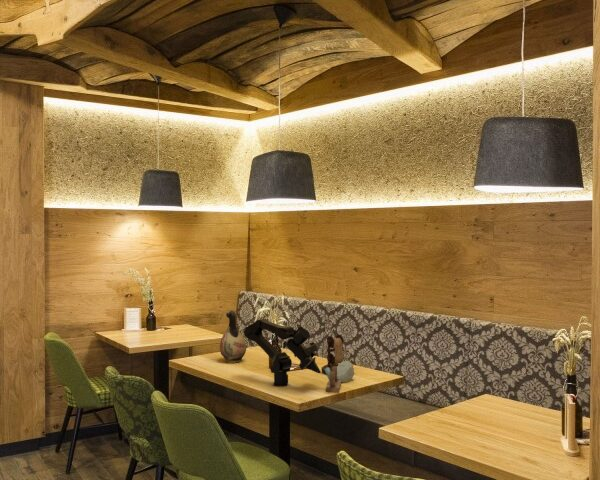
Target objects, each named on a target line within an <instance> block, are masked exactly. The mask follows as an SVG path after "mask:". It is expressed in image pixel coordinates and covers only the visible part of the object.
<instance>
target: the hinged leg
mask: <svg viewBox="0 0 600 480" xmlns="http://www.w3.org/2000/svg"><path fill="white" fill-rule="evenodd" d="M324 370H325V375H326V376H327V378H328V381H330V372H331V371H330V369H329V367H327V368H325V369H324Z"/></svg>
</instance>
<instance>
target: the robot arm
mask: <svg viewBox="0 0 600 480" xmlns="http://www.w3.org/2000/svg"><path fill="white" fill-rule="evenodd" d="M264 330H265V331H267V332H270V333H273V334H274V335H276V336H277V338H279V339H280V340H284V342H283V343H282V348H283V349H286V348H287V349H288V350H289V351H290V352H291V353H292V354H293V356H294V357H295V358H297V359H298V361H300V362H299V365H298V367H299V368H300V369H301V370H302V371H303V370H304V369H307V370H310V371H312V372H315V373H317V374H321V373H322V370H321V369H320V368H319V366H318V363H316V355H317V352H318V351H319V350H320V347H319V344H318V343H317V342H315V341H312V342H310V343H309V344H310V345H308V346H305V345H303V344H304V343H305V342H306V341H307V340H308V339H309V338H310V337H311V333H310V332H309V331H308V330H307V329H305V328H304V327H303V326H298V328H297V329H294V327H293V326H290V325H280V324H277V323H274V322H272V321H269V320H266V319H265V318H260V319H257V320H255V321H254V322H252V323H251V324H249V325H248V326H245V327H244V330H243V336H244V338H247V340H249V341H252V342H255V343H256V344H257V345H258V346H259V347H260V349H261V350H263V352H265V354H266V355H267V356H268V357H269V358H270V359H271V361H272V362H271V363H272V366H271V367H270V368H269V369H270V373H271V374H273V386H274V387H275V386H276V387H283V386H284V387H287V386H288V384H289V374H288V372H290V371H291V368H292V361H293V360H292V359H291V356H290V355H289V354H287V352H285V351H282V352H280V351H278V349H276V347H274V345H272V343H270V341H269V340H267V338H265V336H264V335H263V334H264V333H263V331H264ZM285 340H286V341H285Z"/></svg>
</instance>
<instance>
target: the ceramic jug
mask: <svg viewBox="0 0 600 480" xmlns="http://www.w3.org/2000/svg"><path fill="white" fill-rule="evenodd" d="M226 318H228V326H227V328H226V330H225V332H224V333H223V334H222V337H221V339H220V342H219V353H220V355H221V356H222V357H223V359H224V360H225V362H226V363H233V364H234V363H238V362H241V361H242V360H243V357H244V356H245V354H246V351H247V344H246V343H247V342H246V341H245V340H246V339H245V337H244V335H243V334H242V332H241V331H240V330H239V328H238V327H237V326H236V325H237V324H236V323H237V322H236V320H237V319H236V313H235V311H234V310H230V311H229V312H226Z"/></svg>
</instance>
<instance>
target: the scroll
mask: <svg viewBox="0 0 600 480" xmlns="http://www.w3.org/2000/svg"><path fill="white" fill-rule="evenodd" d="M326 343H327V346H326V347H327V349H326V353H327V356H326V360H327V362H326V364H325V365H323V366H322V367H321V369H320V371H321V373H323V374H324V372H325V370H324V369H325V368H327V367H329V369H330V371H332V367H333V366H338V365H339V364H340V363H341V362H343V361H344V353H343V352H344V351H343V350H344V344H343V343H344V338H343V336H342V335H341V334H337V335H336V336H335V338H334V337H333V336H332V335H330V336H328V337H327V338H326ZM331 352H334V354H333V353H331ZM325 373H326V372H325Z"/></svg>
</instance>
